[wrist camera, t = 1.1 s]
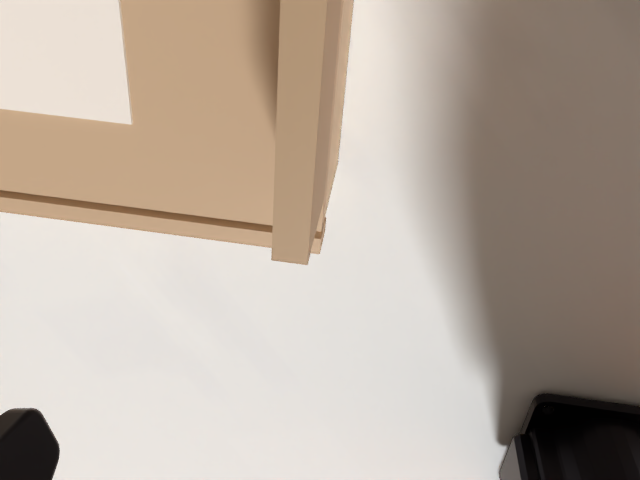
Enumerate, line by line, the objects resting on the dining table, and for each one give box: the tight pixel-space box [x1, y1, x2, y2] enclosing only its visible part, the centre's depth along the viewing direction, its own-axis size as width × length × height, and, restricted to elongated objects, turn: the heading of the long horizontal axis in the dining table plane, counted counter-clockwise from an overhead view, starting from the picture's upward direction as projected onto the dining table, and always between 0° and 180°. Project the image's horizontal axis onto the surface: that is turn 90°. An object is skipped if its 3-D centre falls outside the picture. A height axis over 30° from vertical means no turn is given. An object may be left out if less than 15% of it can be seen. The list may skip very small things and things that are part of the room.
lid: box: [0, 0, 344, 265], centre depth 13 cm, size 14×12×4 cm
